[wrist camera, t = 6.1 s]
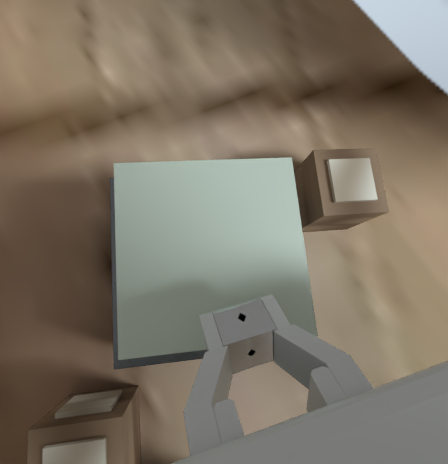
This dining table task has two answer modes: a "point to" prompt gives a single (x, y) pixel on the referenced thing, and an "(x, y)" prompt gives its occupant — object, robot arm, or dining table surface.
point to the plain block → (204, 248)
